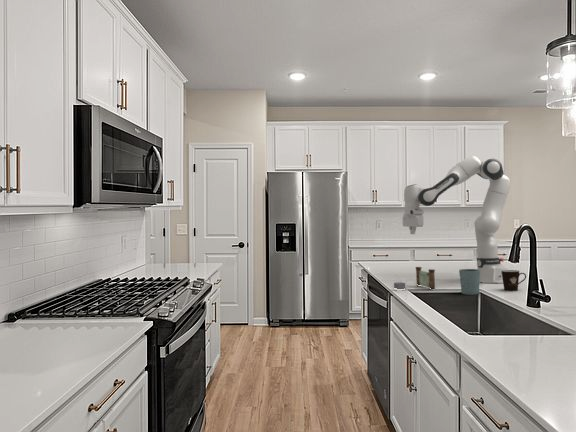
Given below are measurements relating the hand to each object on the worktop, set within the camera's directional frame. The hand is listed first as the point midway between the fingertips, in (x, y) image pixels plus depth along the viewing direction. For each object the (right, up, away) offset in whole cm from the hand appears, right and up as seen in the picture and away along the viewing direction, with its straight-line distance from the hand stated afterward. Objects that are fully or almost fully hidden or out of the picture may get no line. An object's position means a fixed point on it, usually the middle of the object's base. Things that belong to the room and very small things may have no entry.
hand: (412, 234), depth 291 cm
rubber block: (-14, -30, -27) cm, 43 cm away
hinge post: (0, -29, -16) cm, 33 cm away
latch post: (+3, -29, -29) cm, 41 cm away
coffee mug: (+42, -28, -41) cm, 65 cm away
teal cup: (+18, -29, -45) cm, 57 cm away
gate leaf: (+1, -28, -23) cm, 36 cm away
